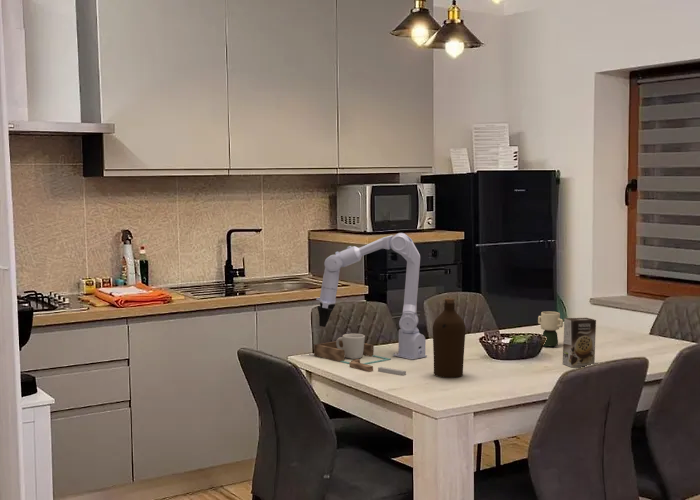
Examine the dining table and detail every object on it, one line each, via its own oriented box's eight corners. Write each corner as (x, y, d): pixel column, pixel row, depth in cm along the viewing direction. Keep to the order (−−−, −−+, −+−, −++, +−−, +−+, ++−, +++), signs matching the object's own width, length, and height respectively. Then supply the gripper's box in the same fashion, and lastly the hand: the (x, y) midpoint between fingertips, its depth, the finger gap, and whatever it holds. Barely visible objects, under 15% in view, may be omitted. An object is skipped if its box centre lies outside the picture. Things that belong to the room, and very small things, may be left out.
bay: (390, 359, 314) (390, 358, 314) (357, 366, 303) (358, 365, 303) (372, 355, 320) (372, 354, 320) (340, 361, 309) (340, 361, 309)
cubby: (373, 356, 320) (373, 345, 319) (341, 362, 309) (341, 350, 309) (345, 350, 330) (345, 339, 330) (314, 355, 320) (314, 344, 320)
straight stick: (405, 375, 290) (405, 371, 290) (403, 376, 289) (403, 371, 289) (380, 371, 296) (380, 366, 296) (378, 372, 295) (378, 367, 295)
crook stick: (378, 368, 297) (378, 364, 297) (369, 372, 294) (369, 367, 294) (357, 363, 305) (356, 358, 305) (348, 366, 302) (347, 362, 302)
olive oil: (468, 378, 286) (469, 300, 284) (435, 378, 285) (436, 301, 283) (460, 371, 296) (462, 296, 294) (429, 371, 295) (430, 296, 293)
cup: (331, 357, 316) (331, 335, 316) (341, 353, 324) (342, 332, 323) (358, 360, 311) (358, 338, 311) (368, 356, 318) (368, 334, 318)
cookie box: (571, 367, 303) (572, 320, 301) (562, 363, 309) (563, 317, 307) (595, 366, 305) (596, 319, 304) (585, 362, 311) (586, 316, 310)
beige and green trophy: (567, 347, 339) (568, 313, 338) (556, 349, 334) (557, 315, 333) (543, 343, 347) (543, 310, 345) (532, 345, 342) (533, 312, 341)
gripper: (320, 283, 329) (314, 319, 331) (316, 288, 315) (310, 326, 316) (339, 286, 329) (333, 322, 331) (336, 292, 315) (330, 329, 316)
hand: (323, 324), depth 323 cm, fingers open, 7 cm apart
